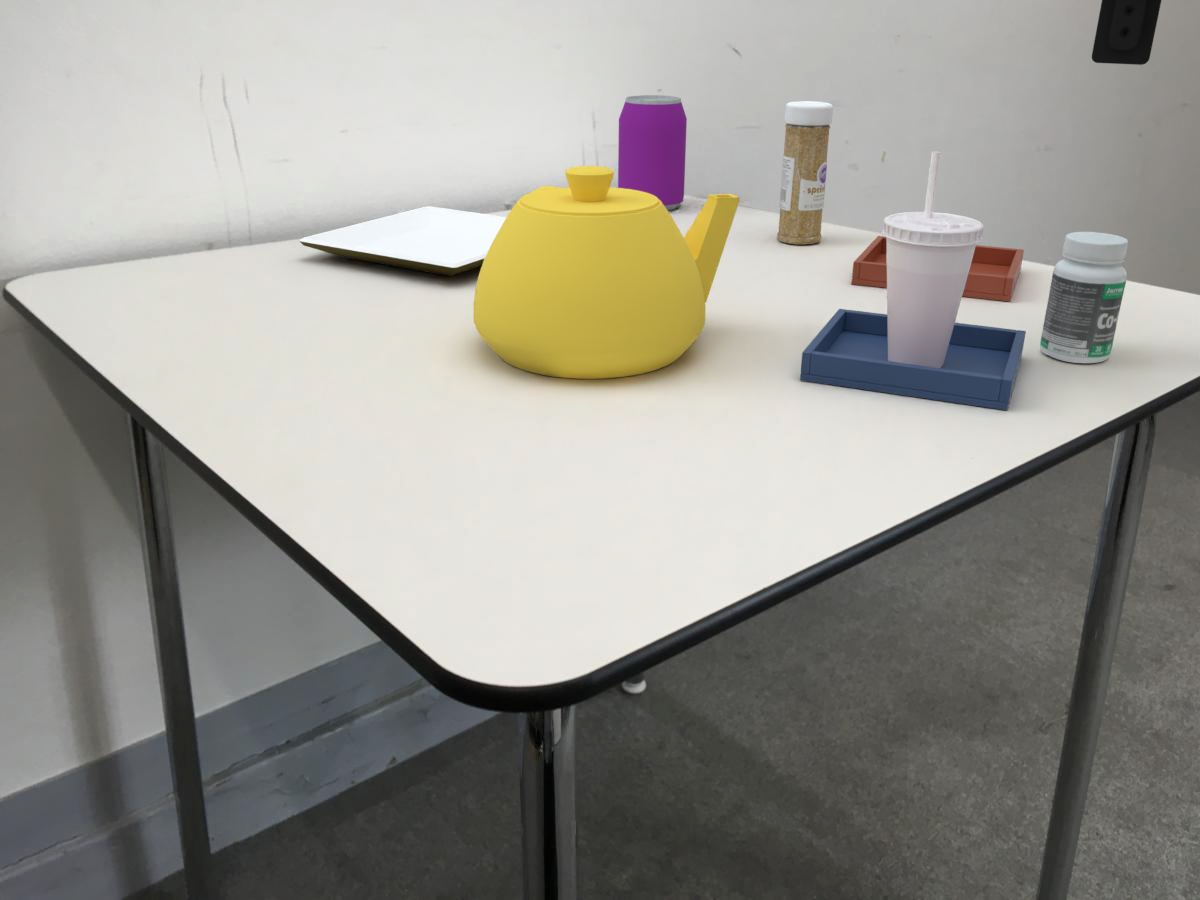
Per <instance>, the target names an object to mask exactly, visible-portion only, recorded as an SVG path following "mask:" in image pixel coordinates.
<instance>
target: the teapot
mask: <svg viewBox="0 0 1200 900" xmlns="http://www.w3.org/2000/svg"><path fill="white" fill-rule="evenodd" d="M564 174H565V178H566V181H567V184H568V186H566V187H558V186H556V185H555V186H554V185H545V186H541V187H537V188H535V189H534V190H532V191H531V192H529V193H526V194H524V195H522V196H521V197H520V198H519V199H518V200H517V201H516V202H515V204H514V205H513V207H512V208H511V210H510V211H509V212H508V214H507V216H505V217H506V219H505V221H504V223H503V224H502V226H501V228H500V230H499V231H498V233H497V235H496V237H495V238H494V240H493V242H492V244H491V246H490V248H489V250H488V253H487V255H486V257H485V259H484V261H483V264H482V266H480V270H479V273H478V277H477V281H476V286H475V290H474V297H473V298H474V299H473V324H474V326H475V329H476V331H477V334H479V336H480V337H481V339H483V341H484V342H485V343H486V344H487V345H488V346H489V347H490V348H491V350H493V352H494V353H495V354H496V355H498V356H499V358H501V359H502V360H503V361H504V362H506V364H509V365H510V366H513V367H514V368H518V369H520V370H523V371H525V372H530V373H533V374H536V375H541V376H542V375H543V376H548V377H555V378H565V379H580V380H581V379H584V380H586V379H587V380H588V379H589V380H592V379H593V380H596V379H598V380H599V379H614V378H622V377H629V376H630V377H631V376H636V375H642V374H646V373H650V372H653V371H656V370H659V369H663V368H665V367H667V366H669V365H671V364H673V363H675V362H676V361H677V360H678V359H679V358H680V357H681V356H682V355H683V354H684V353H686V351H688V349H689V348H690V347H691V346H692V345H693V343H694V342H695V341H696V340H697V339H698V337H700V335H701V333H702V331H703V329H704V327H705V323H706V303H707V301H708V297H709V294H710V292H711V289H712V286H713V283H714V279H715V276H716V273H717V270H718V267H719V264H720V261H721V259H722V255H723V252H724V249H725V246H726V243H727V240H728V237H729V234H730V231H731V228H732V225H733V222H734V219H735V216H736V212H737V209H738V206H739V203H740V198H741V197H740V196H738V195H735V194H732V193H719V194H718V193H717V194H716V193H715V194H712V193H711V194H707V199H706V202H705V203H704V205H702V208H701V209H700V211H699V213H698V214H697V216H696V217H695V219H694V220H693V222H692V224H691V225H690V227H689V229H688V230H687V232H686V233H685V235H683V234H682V232H681V231H680V228H679V227H678V225H677V223H676V221H675V220H674V218H673V217H672V215H671V212H669V210H667V209H666V208H665V206H664V205H663V203H662V202H661V201H660V200H659V199H658V198H657V197H656V196H654V195H652V194H649V193H646V192H642V191H637V190H632V189H624V188H618V187H613V186H611V184H612V182H613V179H614V175H615V170H614V169H612V168H610V167H607V166H601V165H578V166H572V167H569V168H567V169H565V170H564Z"/></svg>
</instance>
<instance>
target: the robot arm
mask: <svg viewBox="0 0 1200 900" xmlns="http://www.w3.org/2000/svg"><path fill="white" fill-rule="evenodd" d="M1161 4H1162V0H1101V4H1100V9H1099V13H1098V20H1097V25H1096V32H1095V35H1094V41H1093V47H1092V52H1091V60H1092V61H1093V62H1094V63H1096V64H1114V65H1135V66H1136V65H1138V66H1142V65H1145V64H1147V63H1148V62H1149V61H1150V58H1151V54H1152V49H1153V43H1154V38H1155V34H1156V28H1157V23H1158V20H1159V15H1160V9H1161Z"/></svg>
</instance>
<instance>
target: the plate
mask: <svg viewBox="0 0 1200 900" xmlns="http://www.w3.org/2000/svg"><path fill="white" fill-rule="evenodd" d="M506 217H507V216H502V215H496V214H495V215H494V214H489V213H483V212H482V213H481V212H475V211H474V212H473V211H468V210H467V211H466V210H459V209H453V208H446V207H445V208H444V207H440V206H439V207H438V206H432V205H427V206H426V205H425V206H423V207H418V208H413V209H410V210H407V211H402V212H398V213H395V214H390V215H386V216H381V217H379V218H375V219H371V220H367V221H363V222H359V223H355V224H352V225H348V226H343V227H339V228H336V229H332V230H328V231H324V232H320V233H316V234H311V235H308V236H304V237H302V238H300V239H299V240H298V242H299V243H300V244H302V246H304V247H308V248H310V249H314V250H318V251H321V252H324V253H328V254H332V255H334V256H339V257H341V258H347V259H351V260H357V261H362V262H369V263H374V264H380V265H385V266H391V267H395V268H403V269H408V270H413V271H419V272H423V273H424V272H425V273H432V274H435V275H442V276H447V277H451V276H456V275H459V274H462V273H465V272H467V271H471V270H474V269H476V268H481V267H482V264H483V261H484V259H485V257H486V255H487V253H488V250H489V248H490V246H491V244H492V242H493V240H494V238H495V237H496V235H497V233H498V231H499V230H500V228H501V226H502V224H503V223H504V221H505V219H506Z"/></svg>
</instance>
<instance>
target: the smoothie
mask: <svg viewBox="0 0 1200 900" xmlns="http://www.w3.org/2000/svg"><path fill="white" fill-rule="evenodd" d="M940 159H941V151H936V150H935V151H933V150H932V151H931V154H930V162H929V170H928V178H927V186H926V194H925V203H924V209H923V211H907V212H906V211H904V212H898V213H896V212H895V213H893V214H890V215H886V216H885V217H884V219H883V225H882V230H881V236H883V237H886V240H887V255H886V262H887V288H886V302H887V303H886V314H887V328H888V361H891V362H899V363H906V364H913V365H921V366H928V367H935V368H941V367H942V366H943V364H944V360H945V356H946V353H947V349H948V346H949V342H950V338H951V335H952V331H953V327H954V324H955V323H956V319H957V316H958V312H959V309H960V306H961V302H962V299H963V296H962V295H963V291H964V287H965V284H966V280H967V276H968V273H969V269H970V266H971V262H972V258H973V255H974V251H975V247H976V245H978V244H980V243H982V241H984V237H983V233H984V227H985V226H984V224H983V222H981V221H980V220H978V219H976V218H972V217H969V216H966V215H960V214H955V213H947V212H938V211H937V212H936V211H934V206H935V199H936V191H937V183H938V176H939V169H940V168H939V167H940Z"/></svg>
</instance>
